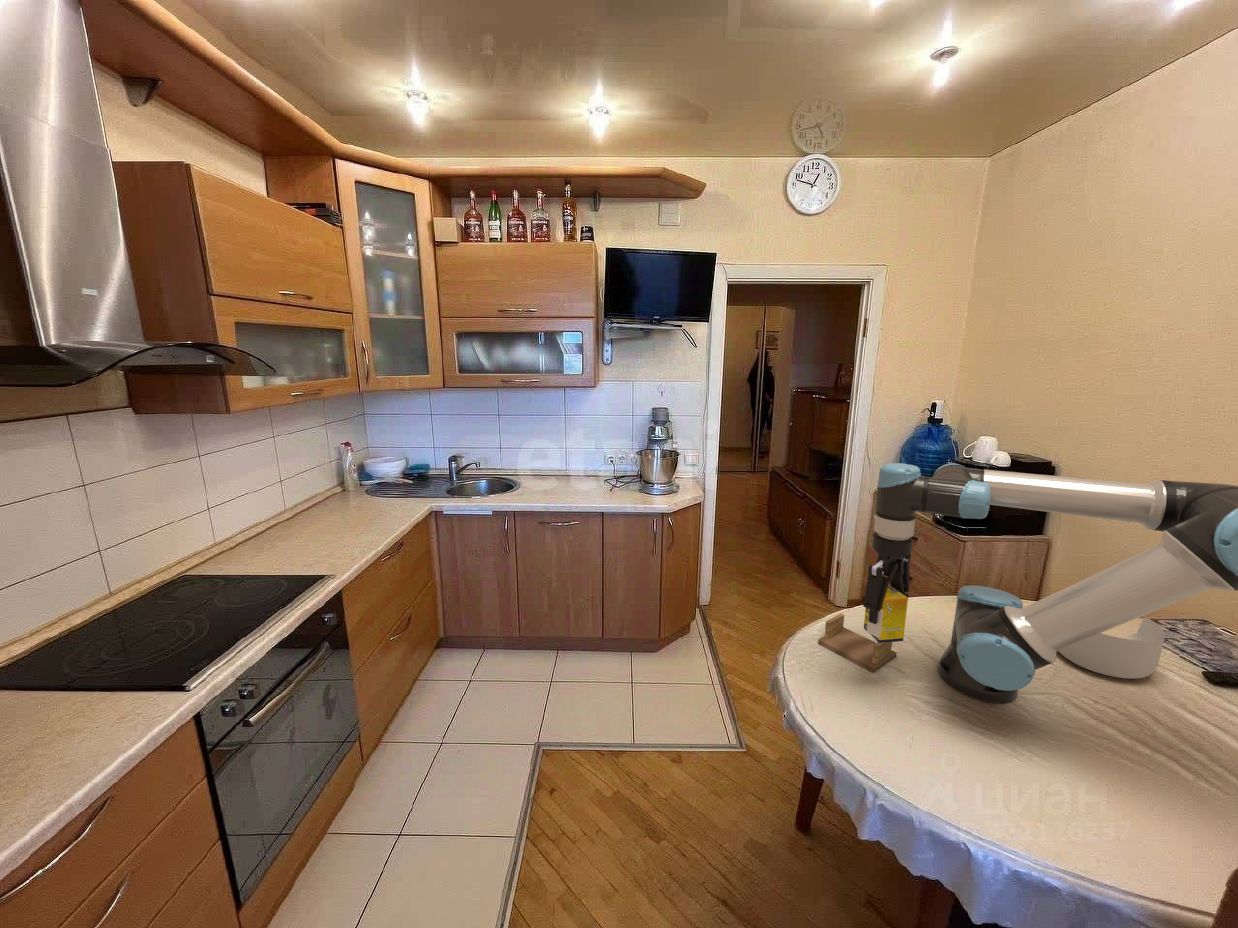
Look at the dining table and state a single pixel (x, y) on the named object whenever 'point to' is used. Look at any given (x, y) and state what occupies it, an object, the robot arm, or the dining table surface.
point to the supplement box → (891, 616)
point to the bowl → (1120, 652)
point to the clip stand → (855, 646)
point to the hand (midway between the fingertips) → (883, 628)
